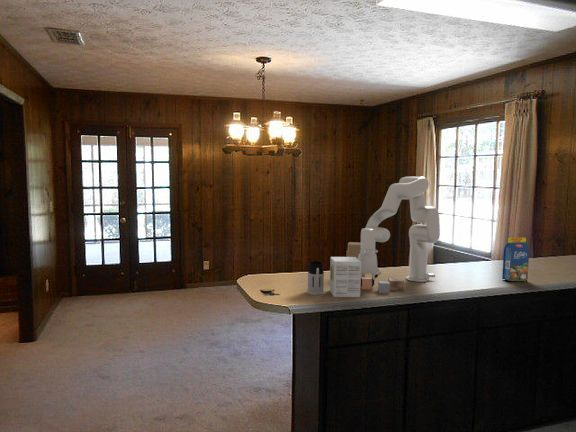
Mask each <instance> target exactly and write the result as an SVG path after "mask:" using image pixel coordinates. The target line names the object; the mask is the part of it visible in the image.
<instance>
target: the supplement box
mask: <svg viewBox="0 0 576 432" xmlns="http://www.w3.org/2000/svg"><path fill="white" fill-rule="evenodd" d="M329 258H330V261H329V262H330V266H329V274H330V275H329V292H330V293H331V295H332V296H333V297H334V298H361V286H360V285H361V261H360V260H359V259H357V258H356V257H347V256H330V257H329Z"/></svg>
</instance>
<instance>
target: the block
mask: <svg viewBox="0 0 576 432" xmlns="http://www.w3.org/2000/svg"><path fill="white" fill-rule="evenodd" d="M360 248H361V241H360V242H358V241H357V242H354V241H353V242H352V241H349V242H348V243H347V256H346V257H356V258H357V259H358V256H359V254H360ZM362 277H363V278H366V274H363V275H362Z"/></svg>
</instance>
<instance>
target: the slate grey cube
mask: <svg viewBox="0 0 576 432" xmlns="http://www.w3.org/2000/svg"><path fill="white" fill-rule="evenodd" d="M377 282H378V286H377V287H378V288H377V291H378V293H379V294H390V293H391V292H390V291H391V290H390V283H389V282H388V280H387V281H382V280H378V281H377Z"/></svg>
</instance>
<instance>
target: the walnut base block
mask: <svg viewBox="0 0 576 432" xmlns="http://www.w3.org/2000/svg"><path fill="white" fill-rule="evenodd" d="M387 281H388V282H389V283H390V291H404V280H403V278H402V277H401V278H400V277H388V278H387Z"/></svg>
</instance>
